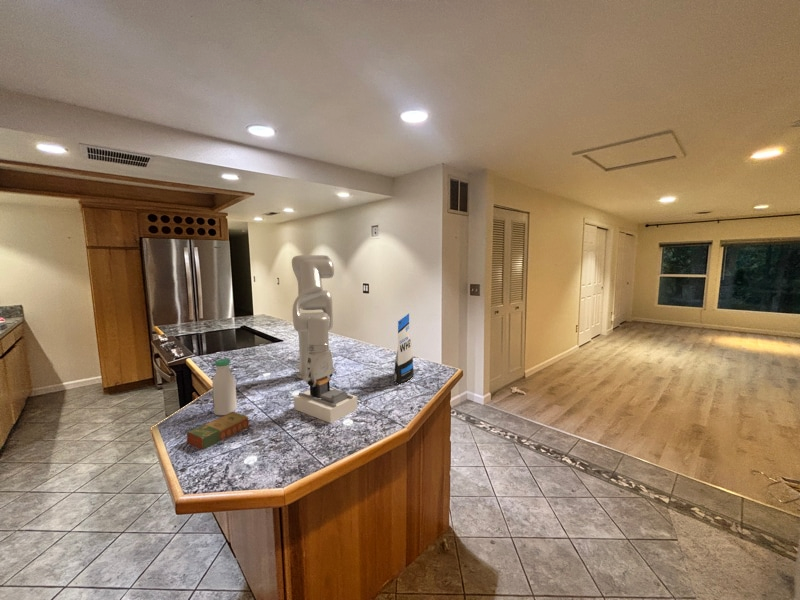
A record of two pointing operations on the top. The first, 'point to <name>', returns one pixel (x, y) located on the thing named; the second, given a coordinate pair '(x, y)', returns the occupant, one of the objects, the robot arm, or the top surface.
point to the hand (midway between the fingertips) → (320, 392)
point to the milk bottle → (224, 389)
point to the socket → (324, 406)
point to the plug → (321, 386)
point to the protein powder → (403, 353)
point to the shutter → (334, 396)
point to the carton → (217, 430)
